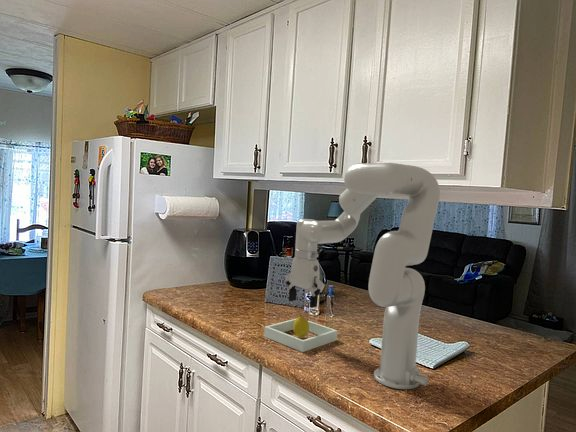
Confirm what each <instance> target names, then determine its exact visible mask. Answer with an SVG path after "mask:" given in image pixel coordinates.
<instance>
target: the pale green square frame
mask: <svg viewBox="0 0 576 432" xmlns="http://www.w3.org/2000/svg"><path fill="white" fill-rule="evenodd" d="M297 318H298V317H296V318H292V319H289V320H286V321H281V322H277V323H274V324H269V325H266V326H264V328H263V329H264V330H263V337H265V338H266V339H269V340H271V341H274V342H276V343H279V344H281V345H284V346H286V347H289V348H291V349H293V350H296V351H298V352H301V353H305V352H307V351H309V350H314V349H316V348H319V347H322V346H324V345H327V344H331V343H333V342H336V341H338V330H337V329H334V328H332V327H328V326H325V325H323V324H320V323H316V322H313V321H311V320H308V322H309V331H308V333H312V334H315V336H312V337H308V338H306V339H303V338H299V337H297V336H294V335H291V334H288V333H286V332H290V331H293V325H294V321H295V320H296V319H297Z"/></svg>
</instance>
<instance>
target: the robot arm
mask: <svg viewBox="0 0 576 432" xmlns="http://www.w3.org/2000/svg"><path fill="white" fill-rule="evenodd" d="M343 182H344V183H343V184H344V185H345V188H346V189H344V191H343V192H342V193H341V194H340V195H339V198H338V203H339V205H340V207H341V208H342V210H343V212H342V213H341V214H340V215H339V216H338V217H337V218H336V219H335V220H316V219H311V218H310V219H309V218H301V219H300V218H299V219H298V220H297V222H296V230H295V231H296V232H295V247H294V248H295V249H294V257H293V260H292V263H291V269H290V273H288V274H285V275H284V279H285V283H286V286H287V289H288V290H289V292H288V293H289V294H288V302H294V301H297V294H298V293H297V290H298V289H297V288H301V289H304V290H305V289H306V290H309V292H310V294H311V295H310V297H309V298H310V299H309V308H311V309H313V308H316V307H318V299H319V298H318V297H319V296H320V294H322V292H323V291H324V288H325V285H326V284H325V283H323V282H322V281H321V280H320V279H321V278H320V277H321V276H320V275H321V273H320V264H319V263H320V262H319V259H317V258H319V255H320V254H319V253H318V245H323V244H334V243H335V244H336V243H339V242H343V241H344V240H345V239H346V238H347V237H348V236H349V235H351V234H352V233H353V232H354V231H355V230H356V228H357V227H358V225H359V222H360V219H361V214H362V213H363V212H364V211H365V210H366V209H367V208H368V207H369V206H370V205H371V204H372V203H373V202H374V201H375V200H376V199H377V198H378V197H379V196H381V195H382V196H383V195H384V196H398V197H400V196H401V197H403V196H404V197H408V198H409V199H408V201H407V203H406V205H405V206H404V209H403V211H402V215H401V221H400V223H399V228H398V229H397V230H391V231H388V232H385V233H384V234H382V236H381V237H380V238H379V240H378V241H377V243H376V245H375V248H374V252H373V258H372V263H371V268H370V273H369V277H368V286H367V287H368V294H369V297H370V298H371V300H372V302H373V303H374V304H375V305H377V306H379V307H383V308H385V309H384V313H383V323H382V324H383V325H382V335H381V336H382V338H381V350H380V362H379V363H380V365H379V367H377V368H376V369H375V370H374V371H373V378H374V379H375V381H377V382H378V383H380V384H381V385H383V386H386V387H389V388H392V389H398V390H412V389H416V388H418V387H419V386H420V385H421V386H424V387H427V385H428V383H429V380H428V375H426V374H424V373H420V369H419V368H420V367H419V366H417V363H416V362H417V353H418V352H417V350H418V339H419V337H418V336H419V326H420V317H421V309H422V304H423V300H424V297H425V291H426V285H425V280H424V278H423V276H422V274H421V273H419V272H418V271H417V270H416V269H414V268H411V267H409V266H414V265H416V266H417V265H420V264H421V263H423V262H425V260H426V258H427V256H428V253H429V249H430V243H431V240H432V234H433V230H434V225H435V224H434V223H435V218H436V215H437V212H438V207H439V203H440V198H441V190H440V185H439V182H438V180H437V179H436V177H435V176H434V175H433V174H432V173H431V172H430V171H429V170H426V169H425V168H423V167H420V166H416V165H411V164H402V163H396V162H374V163H373V162H371V163H363V162H360V163H355V164H352V165H351V166H349V168H348V169H347V170H346V172H345V174H344V177H343Z"/></svg>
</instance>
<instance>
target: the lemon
mask: <svg viewBox="0 0 576 432" xmlns="http://www.w3.org/2000/svg"><path fill="white" fill-rule="evenodd" d="M296 318H297V319H296ZM296 318H295V319H296V320H295V321H294V325H293V330H292V331H293V333H294V335H295V337H297V338H299V339H303V338H304V337H306V336H307V335H308V333H309V322H308V321H309V320H308V319H307V318H306V317H304V316H303V315H300V316H299V317H296Z"/></svg>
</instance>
